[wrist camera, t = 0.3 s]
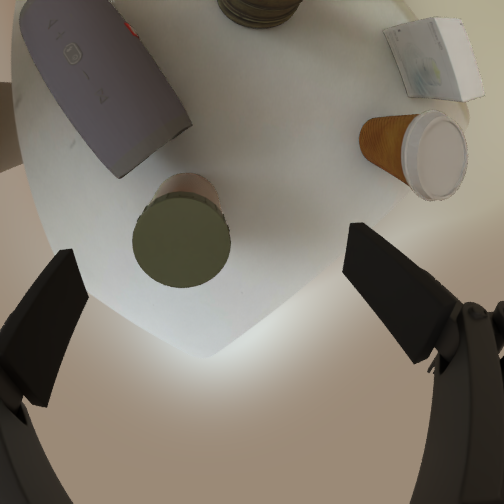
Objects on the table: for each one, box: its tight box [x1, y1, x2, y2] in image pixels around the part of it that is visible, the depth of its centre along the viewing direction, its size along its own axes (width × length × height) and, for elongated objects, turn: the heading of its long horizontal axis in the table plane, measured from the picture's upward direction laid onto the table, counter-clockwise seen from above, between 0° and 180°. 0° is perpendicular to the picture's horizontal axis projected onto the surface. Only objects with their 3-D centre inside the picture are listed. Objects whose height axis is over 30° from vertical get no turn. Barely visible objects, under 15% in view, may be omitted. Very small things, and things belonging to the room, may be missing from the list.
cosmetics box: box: [383, 17, 485, 102], centre depth 20 cm, size 10×6×10 cm, turn 25°
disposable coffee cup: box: [359, 110, 468, 201], centre depth 25 cm, size 10×10×12 cm
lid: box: [132, 191, 231, 288], centre depth 22 cm, size 8×8×2 cm
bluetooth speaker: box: [19, 0, 192, 179], centre depth 17 cm, size 23×9×10 cm, turn 31°
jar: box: [150, 173, 223, 214], centre depth 26 cm, size 8×8×10 cm
